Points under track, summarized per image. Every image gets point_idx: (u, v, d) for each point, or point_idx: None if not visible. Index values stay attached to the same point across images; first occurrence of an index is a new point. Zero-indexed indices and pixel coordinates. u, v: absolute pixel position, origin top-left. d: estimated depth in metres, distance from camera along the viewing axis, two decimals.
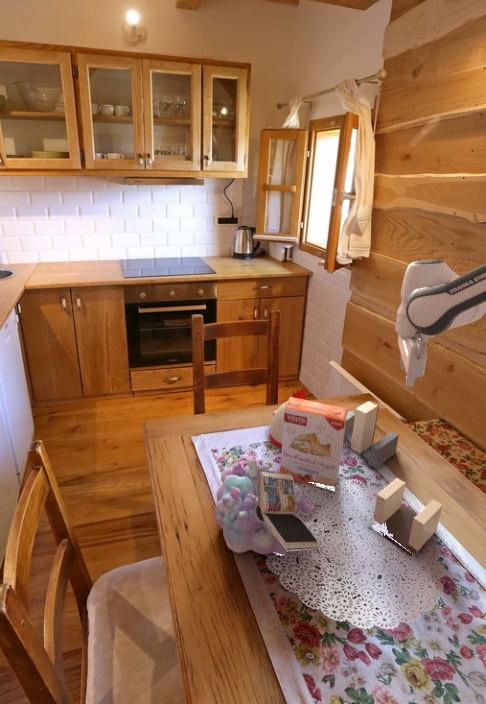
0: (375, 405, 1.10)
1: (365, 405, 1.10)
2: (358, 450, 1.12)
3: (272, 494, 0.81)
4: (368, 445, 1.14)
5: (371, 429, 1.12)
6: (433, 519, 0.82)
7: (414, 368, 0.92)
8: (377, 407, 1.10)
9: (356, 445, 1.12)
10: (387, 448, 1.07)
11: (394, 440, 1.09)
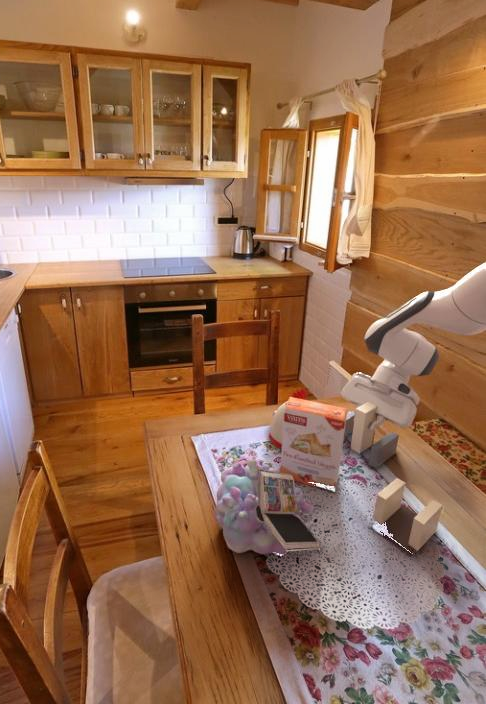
0: (375, 405, 1.11)
1: (365, 405, 1.11)
2: (358, 450, 1.12)
3: (272, 494, 0.81)
4: (368, 445, 1.14)
5: None
6: (433, 519, 0.82)
7: None
8: None
9: (356, 445, 1.12)
10: (387, 448, 1.07)
11: (394, 440, 1.09)
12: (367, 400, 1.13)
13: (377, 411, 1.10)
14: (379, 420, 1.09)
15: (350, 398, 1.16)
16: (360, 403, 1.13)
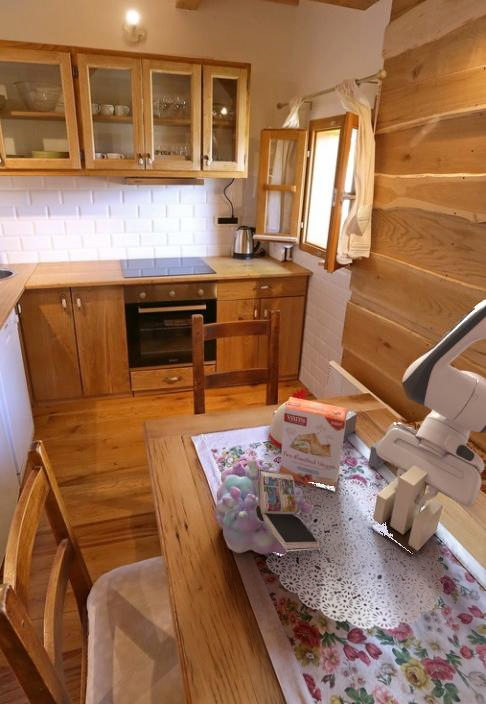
0: (424, 472, 0.83)
1: (411, 472, 0.83)
2: (400, 529, 0.85)
3: (272, 494, 0.81)
4: None
5: None
6: (433, 519, 0.82)
7: None
8: None
9: (399, 523, 0.85)
10: None
11: None
12: (413, 463, 0.86)
13: (428, 481, 0.83)
14: (431, 493, 0.82)
15: (389, 459, 0.89)
16: (403, 467, 0.86)
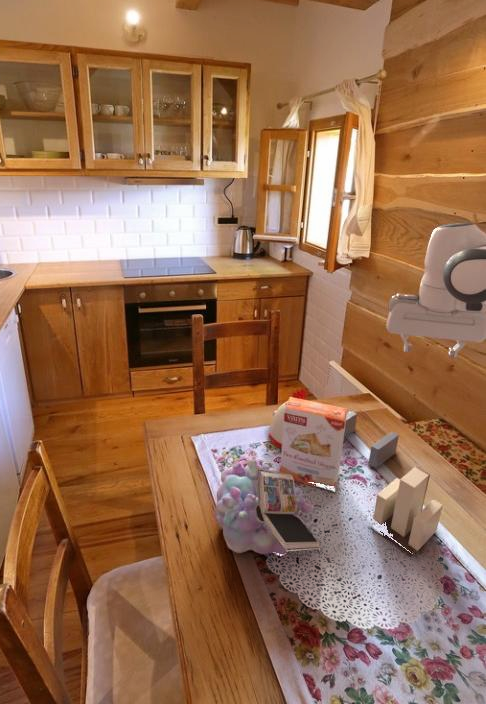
0: (425, 474, 0.83)
1: (412, 474, 0.83)
2: (401, 532, 0.85)
3: (272, 494, 0.81)
4: None
5: (419, 505, 0.85)
6: (433, 519, 0.82)
7: (387, 320, 0.95)
8: (428, 477, 0.83)
9: (400, 525, 0.85)
10: (387, 448, 1.07)
11: (394, 440, 1.09)
12: (427, 328, 0.91)
13: (445, 337, 0.90)
14: (462, 346, 0.91)
15: (403, 333, 0.93)
16: (419, 335, 0.92)
